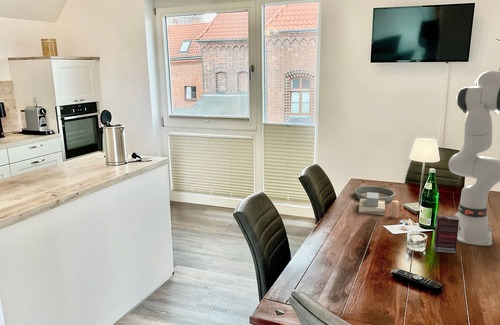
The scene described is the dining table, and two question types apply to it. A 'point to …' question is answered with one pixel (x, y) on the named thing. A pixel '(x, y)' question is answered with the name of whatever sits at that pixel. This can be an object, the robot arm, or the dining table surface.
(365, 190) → the cake pan
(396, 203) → the peg
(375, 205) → the grey rectangular block
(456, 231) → the supplement box
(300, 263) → the dining table surface
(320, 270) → the dining table surface
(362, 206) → the socket board
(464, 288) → the dining table surface
